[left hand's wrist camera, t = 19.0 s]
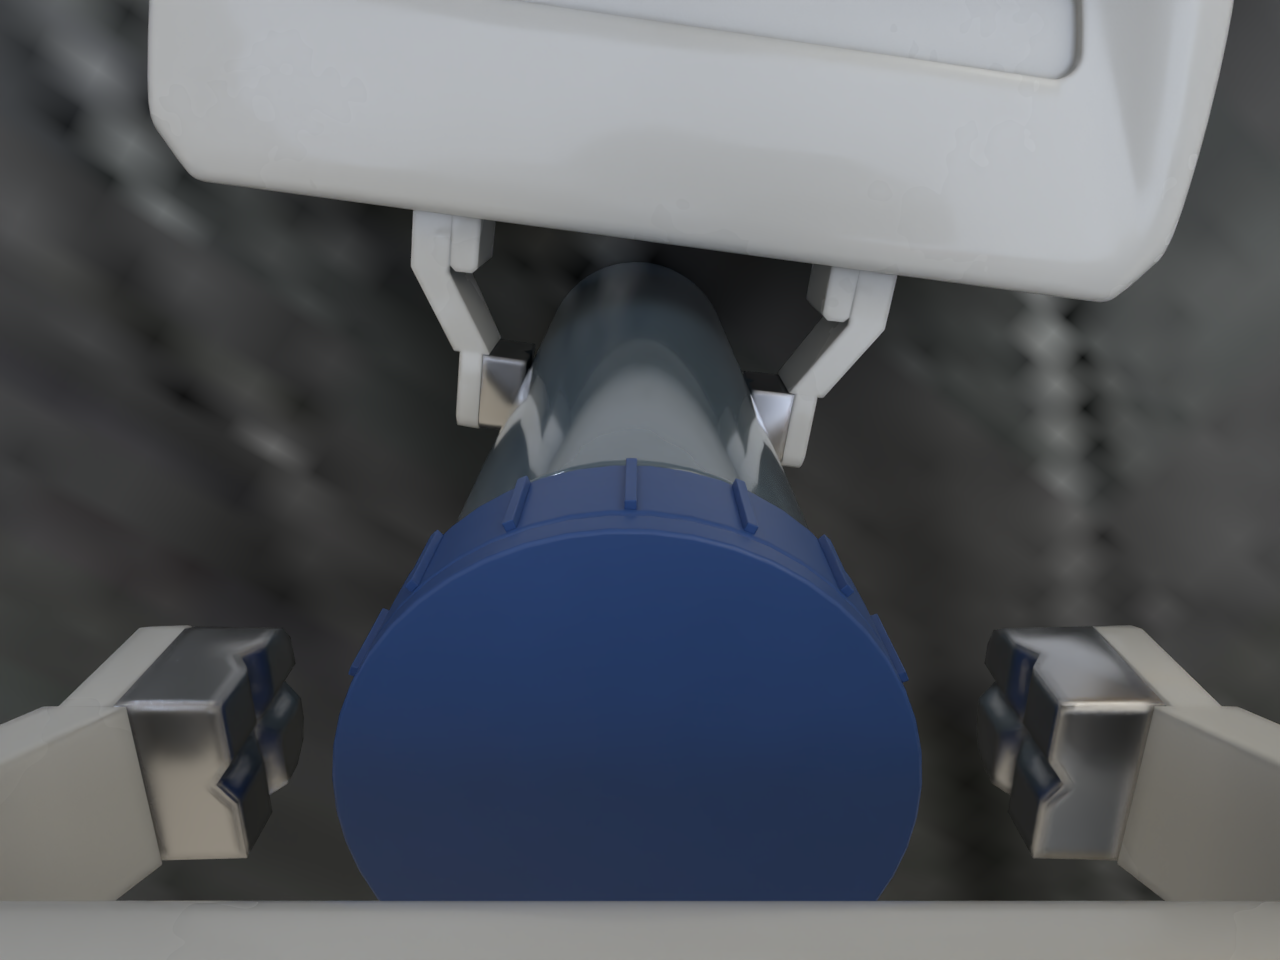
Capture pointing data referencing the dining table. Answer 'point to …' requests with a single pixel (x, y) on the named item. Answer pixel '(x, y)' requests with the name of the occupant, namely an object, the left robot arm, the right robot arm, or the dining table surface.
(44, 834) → the left robot arm
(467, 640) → the lid
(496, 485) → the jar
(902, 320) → the dining table surface
